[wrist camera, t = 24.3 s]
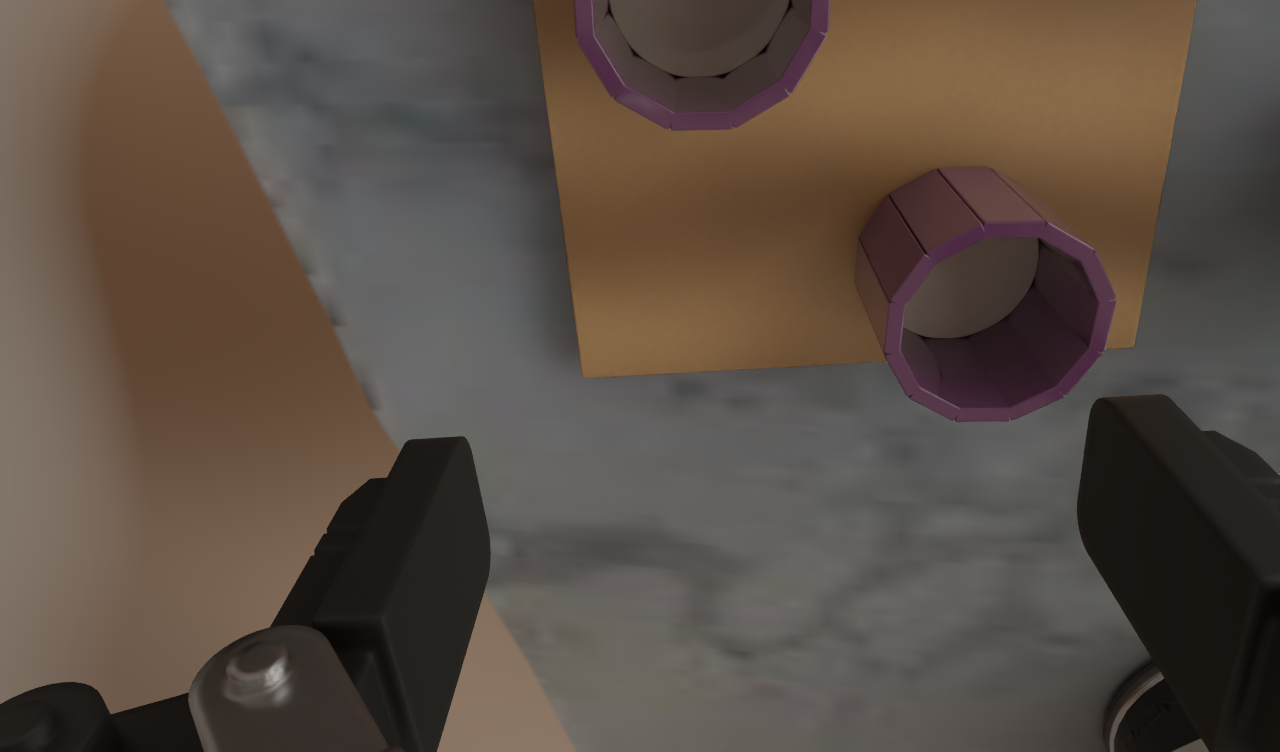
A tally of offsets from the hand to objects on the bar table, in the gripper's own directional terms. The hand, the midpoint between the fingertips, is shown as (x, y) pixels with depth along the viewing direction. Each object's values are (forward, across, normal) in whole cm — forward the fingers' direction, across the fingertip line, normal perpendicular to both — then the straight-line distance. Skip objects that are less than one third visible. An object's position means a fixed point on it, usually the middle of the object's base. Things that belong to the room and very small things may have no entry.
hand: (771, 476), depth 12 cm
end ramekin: (+17, -7, +4) cm, 19 cm away
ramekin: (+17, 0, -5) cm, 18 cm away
